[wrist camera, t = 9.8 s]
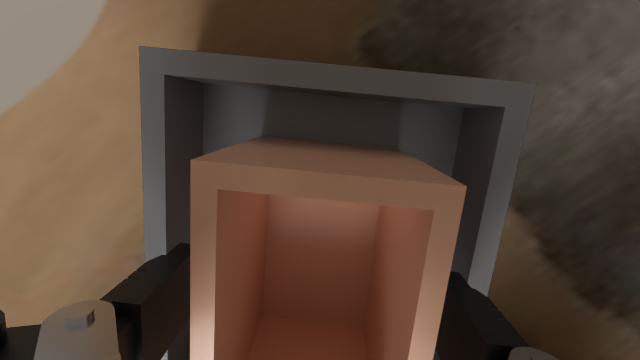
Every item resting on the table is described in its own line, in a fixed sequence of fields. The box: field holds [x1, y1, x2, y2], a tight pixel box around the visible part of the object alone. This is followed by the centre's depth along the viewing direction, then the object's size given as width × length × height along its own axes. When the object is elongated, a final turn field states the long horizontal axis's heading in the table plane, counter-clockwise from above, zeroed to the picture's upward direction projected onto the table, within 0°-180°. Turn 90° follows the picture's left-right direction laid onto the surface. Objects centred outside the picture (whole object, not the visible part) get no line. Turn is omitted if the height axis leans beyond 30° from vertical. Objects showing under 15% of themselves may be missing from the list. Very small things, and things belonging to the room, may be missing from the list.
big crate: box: [139, 46, 537, 360], centre depth 13 cm, size 13×15×4 cm
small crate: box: [190, 136, 467, 360], centre depth 11 cm, size 6×9×7 cm, turn 175°
